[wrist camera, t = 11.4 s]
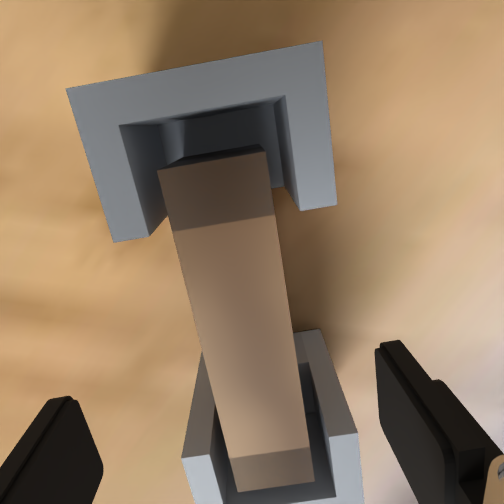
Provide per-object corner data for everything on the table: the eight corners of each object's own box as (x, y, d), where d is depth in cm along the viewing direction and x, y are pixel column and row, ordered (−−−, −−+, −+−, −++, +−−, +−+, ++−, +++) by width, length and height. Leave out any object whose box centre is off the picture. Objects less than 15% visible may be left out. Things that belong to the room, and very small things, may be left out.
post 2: (217, 406, 24) (204, 534, 17) (202, 347, 23) (181, 458, 15) (327, 389, 24) (365, 512, 16) (319, 328, 22) (358, 432, 15)
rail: (239, 407, 20) (237, 492, 16) (183, 157, 16) (156, 170, 11) (298, 398, 20) (315, 481, 16) (259, 143, 16) (265, 151, 11)
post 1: (289, 77, 18) (322, 40, 10) (300, 173, 19) (337, 205, 12) (141, 104, 18) (65, 88, 10) (164, 197, 19) (113, 242, 12)
